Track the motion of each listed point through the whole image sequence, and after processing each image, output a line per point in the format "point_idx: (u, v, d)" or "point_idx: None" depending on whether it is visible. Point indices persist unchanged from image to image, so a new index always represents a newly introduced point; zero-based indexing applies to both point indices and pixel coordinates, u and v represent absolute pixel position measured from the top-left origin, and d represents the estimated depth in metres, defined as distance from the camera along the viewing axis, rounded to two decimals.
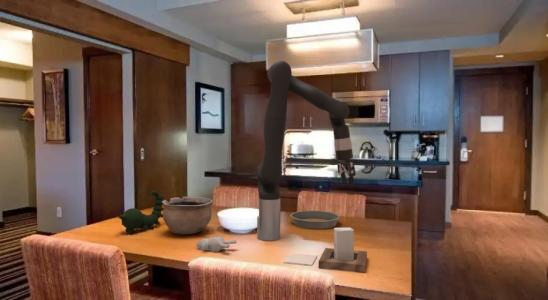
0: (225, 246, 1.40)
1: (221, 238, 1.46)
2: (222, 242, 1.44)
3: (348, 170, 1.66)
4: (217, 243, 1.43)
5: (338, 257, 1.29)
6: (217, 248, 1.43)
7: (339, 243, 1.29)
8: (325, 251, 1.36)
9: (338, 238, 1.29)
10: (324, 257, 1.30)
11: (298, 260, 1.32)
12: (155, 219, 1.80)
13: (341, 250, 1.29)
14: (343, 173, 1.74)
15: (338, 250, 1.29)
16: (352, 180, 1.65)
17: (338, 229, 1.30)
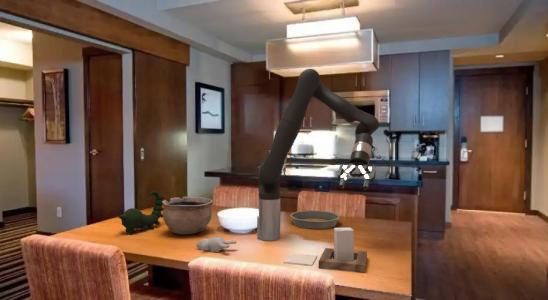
0: (225, 246, 1.40)
1: (221, 238, 1.45)
2: (222, 242, 1.44)
3: None
4: (217, 243, 1.43)
5: (338, 257, 1.29)
6: (217, 248, 1.43)
7: (339, 242, 1.29)
8: (325, 251, 1.36)
9: (338, 238, 1.29)
10: (324, 257, 1.30)
11: (298, 260, 1.32)
12: (155, 219, 1.80)
13: (341, 250, 1.29)
14: (344, 178, 1.46)
15: (338, 250, 1.29)
16: (368, 184, 1.40)
17: (338, 229, 1.30)
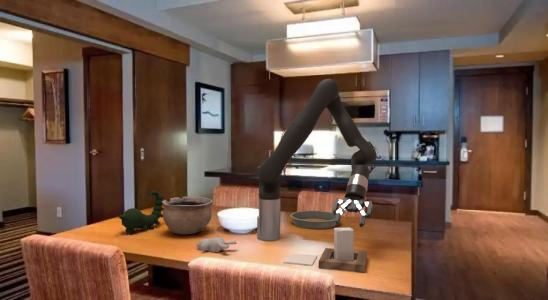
0: (224, 247, 1.39)
1: (221, 239, 1.45)
2: (222, 243, 1.43)
3: None
4: (217, 244, 1.42)
5: (338, 257, 1.29)
6: (217, 249, 1.42)
7: (339, 243, 1.29)
8: (325, 251, 1.36)
9: (338, 238, 1.29)
10: (324, 257, 1.30)
11: (298, 260, 1.32)
12: (155, 219, 1.80)
13: (341, 250, 1.29)
14: (340, 213, 1.41)
15: (338, 250, 1.29)
16: (364, 221, 1.35)
17: (338, 229, 1.30)
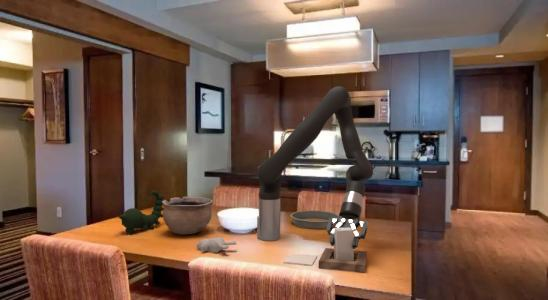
0: (224, 247, 1.39)
1: (221, 239, 1.44)
2: (221, 243, 1.43)
3: None
4: (216, 244, 1.42)
5: (338, 257, 1.29)
6: (216, 249, 1.42)
7: (339, 242, 1.29)
8: (325, 251, 1.36)
9: (338, 238, 1.29)
10: (324, 257, 1.30)
11: (298, 260, 1.32)
12: (155, 219, 1.80)
13: (341, 250, 1.29)
14: None
15: (338, 250, 1.29)
16: (357, 242, 1.29)
17: (338, 229, 1.30)
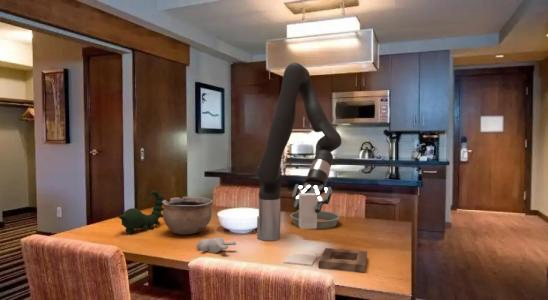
0: (223, 247, 1.39)
1: (220, 239, 1.44)
2: (221, 243, 1.42)
3: (320, 195, 1.34)
4: (216, 244, 1.42)
5: (301, 221, 1.32)
6: (216, 249, 1.42)
7: (303, 207, 1.31)
8: (325, 251, 1.36)
9: (301, 202, 1.31)
10: (324, 257, 1.30)
11: (298, 260, 1.32)
12: (155, 219, 1.80)
13: (304, 215, 1.31)
14: None
15: (302, 214, 1.31)
16: (321, 207, 1.32)
17: (302, 194, 1.32)
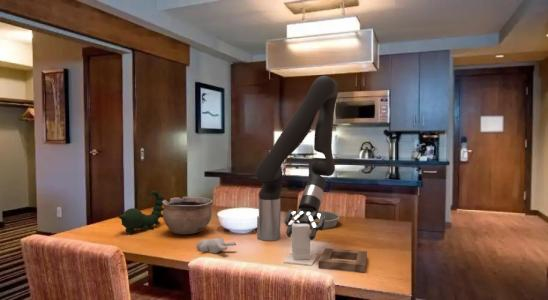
0: (222, 248, 1.38)
1: (220, 239, 1.43)
2: (221, 244, 1.42)
3: None
4: (215, 244, 1.41)
5: (295, 252, 1.33)
6: (215, 250, 1.41)
7: (296, 238, 1.32)
8: (325, 251, 1.36)
9: (295, 234, 1.32)
10: (324, 257, 1.30)
11: (298, 260, 1.32)
12: (155, 219, 1.80)
13: (297, 246, 1.33)
14: None
15: (295, 245, 1.32)
16: (315, 233, 1.32)
17: (295, 225, 1.34)
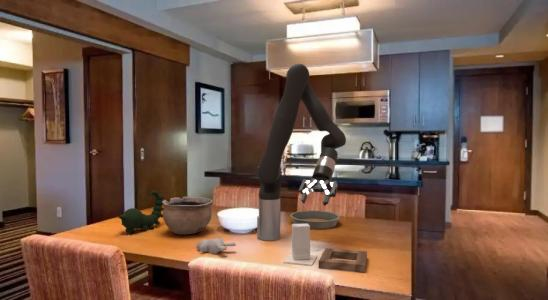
0: (222, 248, 1.37)
1: (220, 240, 1.43)
2: (220, 244, 1.41)
3: (327, 189, 1.44)
4: (215, 245, 1.41)
5: (295, 252, 1.33)
6: (215, 250, 1.41)
7: (296, 238, 1.32)
8: (325, 251, 1.36)
9: (295, 234, 1.32)
10: (324, 257, 1.30)
11: (298, 260, 1.32)
12: (155, 219, 1.80)
13: (297, 246, 1.33)
14: (306, 193, 1.47)
15: (295, 245, 1.32)
16: (328, 199, 1.42)
17: (295, 225, 1.34)
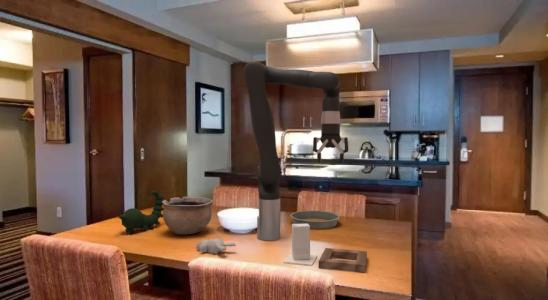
0: (221, 249, 1.37)
1: (220, 240, 1.43)
2: (220, 244, 1.41)
3: (339, 146, 1.53)
4: (215, 245, 1.40)
5: (295, 252, 1.33)
6: (215, 250, 1.40)
7: (296, 238, 1.32)
8: (325, 251, 1.36)
9: (295, 234, 1.32)
10: (324, 257, 1.30)
11: (298, 260, 1.32)
12: (155, 219, 1.80)
13: (297, 246, 1.33)
14: None
15: (295, 245, 1.32)
16: (343, 157, 1.53)
17: (295, 225, 1.34)
